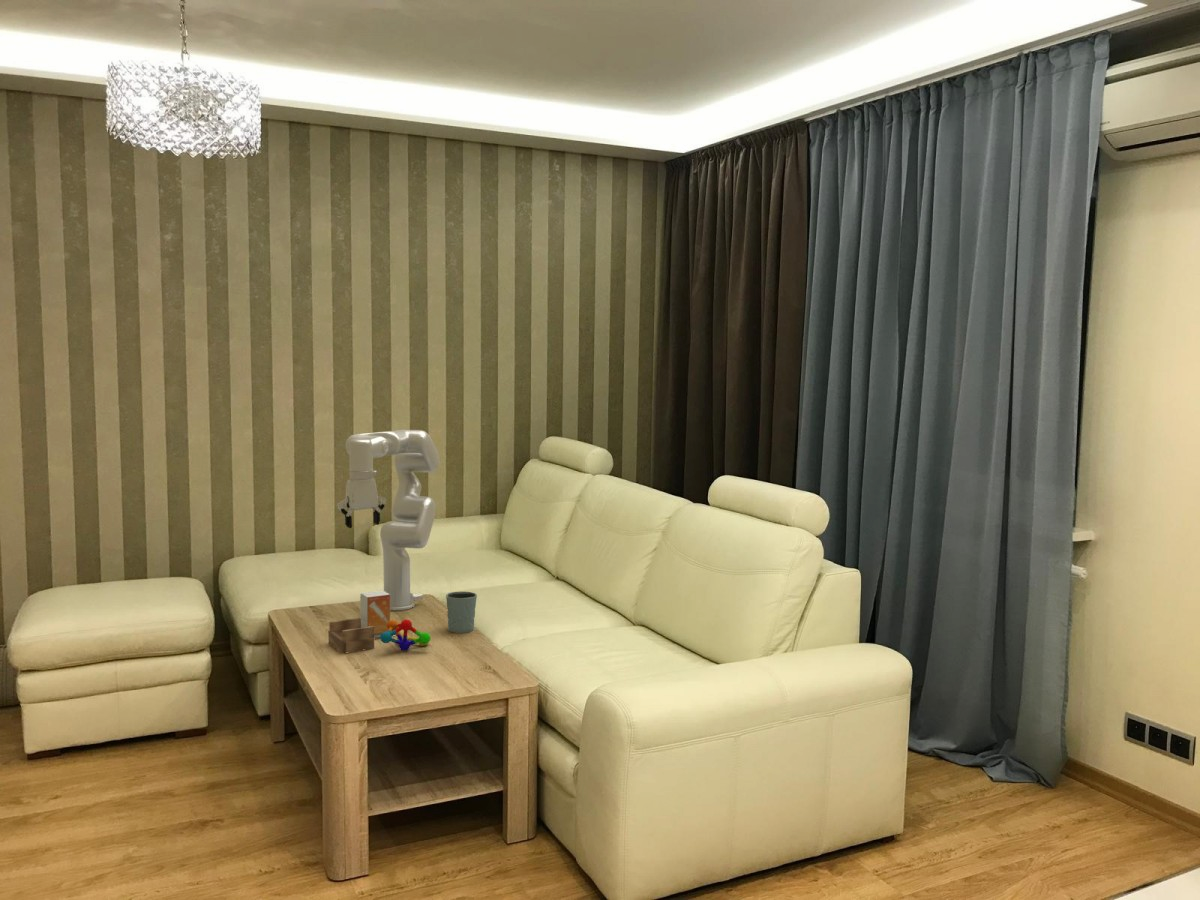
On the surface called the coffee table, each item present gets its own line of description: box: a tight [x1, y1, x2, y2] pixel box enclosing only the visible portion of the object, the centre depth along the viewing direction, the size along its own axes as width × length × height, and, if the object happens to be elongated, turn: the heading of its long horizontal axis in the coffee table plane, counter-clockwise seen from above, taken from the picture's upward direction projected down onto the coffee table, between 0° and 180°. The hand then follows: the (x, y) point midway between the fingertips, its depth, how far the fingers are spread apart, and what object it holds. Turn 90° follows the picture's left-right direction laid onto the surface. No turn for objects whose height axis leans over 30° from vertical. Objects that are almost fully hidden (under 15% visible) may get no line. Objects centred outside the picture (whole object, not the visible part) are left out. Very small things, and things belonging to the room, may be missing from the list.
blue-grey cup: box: [445, 591, 478, 634], centre depth 346 cm, size 10×10×12 cm
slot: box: [327, 617, 375, 654], centre depth 326 cm, size 10×13×7 cm
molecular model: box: [380, 618, 431, 651], centre depth 324 cm, size 15×10×15 cm
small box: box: [359, 590, 391, 634], centre depth 339 cm, size 8×6×13 cm
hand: (362, 525), depth 345 cm, fingers open, 9 cm apart
